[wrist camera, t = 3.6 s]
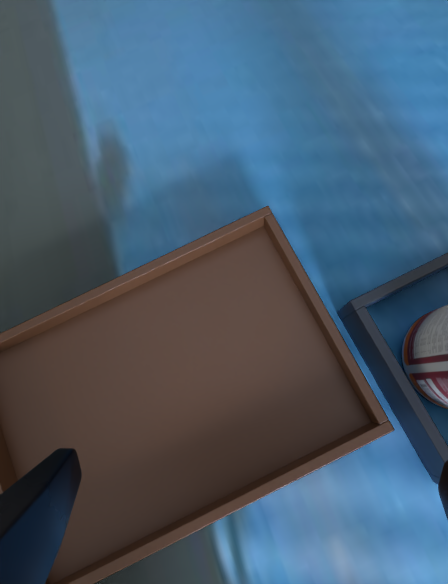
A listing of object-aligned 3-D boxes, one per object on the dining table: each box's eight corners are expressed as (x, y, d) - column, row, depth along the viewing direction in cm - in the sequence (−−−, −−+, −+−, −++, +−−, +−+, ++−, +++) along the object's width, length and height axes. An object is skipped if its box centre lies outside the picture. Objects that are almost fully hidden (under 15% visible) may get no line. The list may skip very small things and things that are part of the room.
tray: (382, 426, 23) (395, 430, 21) (48, 596, 22) (27, 617, 20) (266, 218, 27) (268, 204, 25) (-25, 358, 26) (-48, 356, 24)
